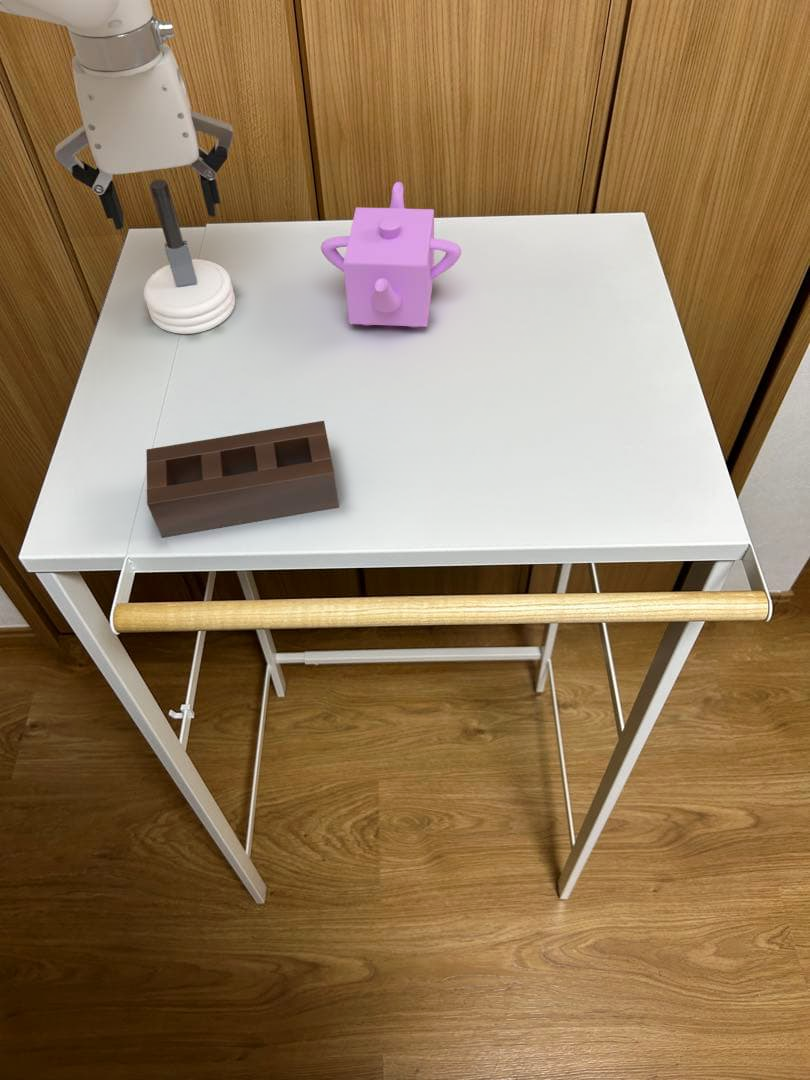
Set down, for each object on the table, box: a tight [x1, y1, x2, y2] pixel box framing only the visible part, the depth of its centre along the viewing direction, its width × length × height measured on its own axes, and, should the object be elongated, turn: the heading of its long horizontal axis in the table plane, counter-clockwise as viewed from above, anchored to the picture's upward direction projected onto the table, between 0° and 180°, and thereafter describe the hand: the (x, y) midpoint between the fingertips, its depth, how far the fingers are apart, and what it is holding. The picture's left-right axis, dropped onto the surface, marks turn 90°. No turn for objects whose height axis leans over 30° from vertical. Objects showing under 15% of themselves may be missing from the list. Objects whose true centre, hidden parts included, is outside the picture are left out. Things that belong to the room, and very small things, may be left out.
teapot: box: [320, 181, 462, 329], centre depth 92 cm, size 15×13×11 cm
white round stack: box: [143, 258, 236, 335], centre depth 96 cm, size 10×10×4 cm
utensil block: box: [145, 420, 340, 538], centre depth 78 cm, size 7×17×5 cm, turn 101°
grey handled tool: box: [149, 179, 197, 286], centre depth 90 cm, size 2×2×12 cm
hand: (166, 215), depth 88 cm, fingers open, 9 cm apart
